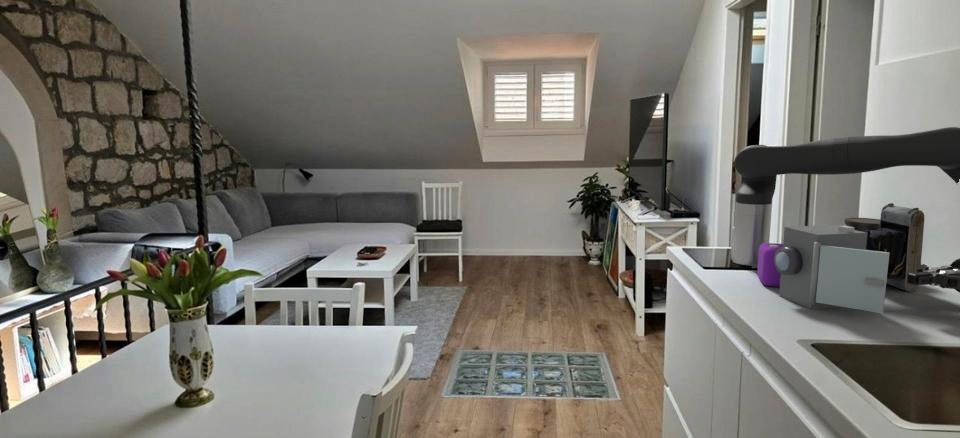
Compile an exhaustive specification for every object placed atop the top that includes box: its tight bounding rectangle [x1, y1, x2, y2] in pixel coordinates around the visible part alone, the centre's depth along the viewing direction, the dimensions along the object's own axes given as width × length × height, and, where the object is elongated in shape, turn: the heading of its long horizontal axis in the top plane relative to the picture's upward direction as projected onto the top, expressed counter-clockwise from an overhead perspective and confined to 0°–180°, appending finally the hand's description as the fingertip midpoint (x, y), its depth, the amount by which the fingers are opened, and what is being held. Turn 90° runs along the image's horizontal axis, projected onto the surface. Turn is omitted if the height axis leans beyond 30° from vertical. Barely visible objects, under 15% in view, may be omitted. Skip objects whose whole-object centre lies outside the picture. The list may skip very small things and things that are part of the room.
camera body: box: [774, 224, 867, 310], centre depth 129 cm, size 10×15×17 cm
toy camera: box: [757, 242, 783, 288], centre depth 145 cm, size 11×14×10 cm
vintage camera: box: [861, 203, 925, 293], centre depth 139 cm, size 10×15×20 cm, turn 95°
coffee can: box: [844, 217, 880, 231], centre depth 154 cm, size 10×10×14 cm
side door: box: [809, 242, 889, 314], centre depth 118 cm, size 2×13×13 cm, turn 50°
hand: (911, 279), depth 117 cm, fingers closed
